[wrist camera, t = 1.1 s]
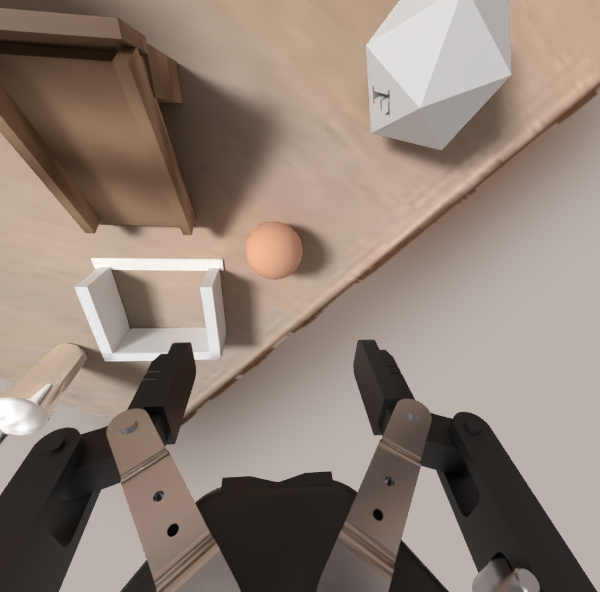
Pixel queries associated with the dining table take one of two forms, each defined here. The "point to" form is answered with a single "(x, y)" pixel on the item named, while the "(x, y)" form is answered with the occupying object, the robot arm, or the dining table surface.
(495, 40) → the die
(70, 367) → the milkshake
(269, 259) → the ball
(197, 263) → the tape line
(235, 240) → the dining table surface
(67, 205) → the ramp
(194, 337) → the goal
